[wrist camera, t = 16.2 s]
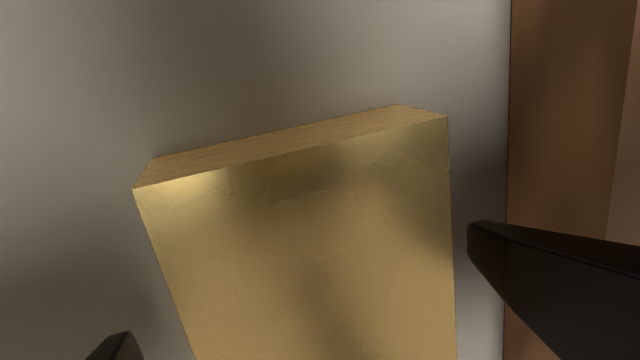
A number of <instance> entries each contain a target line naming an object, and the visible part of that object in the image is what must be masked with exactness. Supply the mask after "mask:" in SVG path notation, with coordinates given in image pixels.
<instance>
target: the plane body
mask: <svg viewBox="0 0 640 360" xmlns="http://www.w3.org/2000/svg"><path fill="white" fill-rule="evenodd" d="M507 224H513V225H519V226H524V227H530V228H536V229H542V230H548V231H554V232H560V233H566V234H571V235H577V236H583V237H589V238H595V239H601V240H607V241H613V242H618V243H624V244H630V245H636V246H640V0H512V28H511V70H510V112H509V153H508V195H507ZM504 360H560V359H559V358H558V357H557V356H556V355H555V354H554V353H553V352H552V351H551V350H550V349H549V348H548V347H547V346H546V345H545V344H544V342H543V341H542V340H541V339H540V338H539V337H538V336H537V335H536V334H535V333H534V332H533V331H532V330H531V329H530V328H529V327H528V326H527V325H526V324H525V323H524V322H523V321H522V320H521V319H520V318H519V317H518V316H517V315H516V314H515V313H514V312H513V311H512V310H511V309H510V308H509V307H508V305H507V304H506V303H505V320H504Z"/></svg>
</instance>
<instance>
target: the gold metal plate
mask: <svg viewBox="0 0 640 360" xmlns="http://www.w3.org/2000/svg"><path fill="white" fill-rule="evenodd" d="M131 191H132V194H133V196H134V199H135V202H136V204H137V207H138V210H139V212H140V215H141V217H142V220H143V223H144V225H145V228H146V231H147V233H148V236H149V238H150V241H151V244H152V246H153V249H154V252H155V254H156V257H157V260H158V262H159V265H160V267H161V270H162V273H163V275H164V278H165V281H166V283H167V286H168V288H169V291H170V294H171V296H172V299H173V302H174V304H175V307H176V309H177V312H178V315H179V317H180V320H181V323H182V325H183V328H184V330H185V333H186V336H187V338H188V341H189V344H190V346H191V349H192V351H193V354H194V357H195V359H196V360H457V347H456V321H455V296H454V271H453V246H452V220H451V195H450V170H449V145H448V119H447V116H446V115H442V114H438V113H434V112H429V111H425V110H421V109H417V108H413V107H408V106H404V105H400V104H396V105H392V106H387V107H383V108H378V109H374V110H369V111H365V112H360V113H356V114H351V115H347V116H342V117H338V118H333V119H329V120H324V121H320V122H315V123H311V124H306V125H301V126H297V127H292V128H288V129H283V130H279V131H274V132H270V133H265V134H261V135H256V136H252V137H247V138H243V139H238V140H234V141H229V142H225V143H220V144H216V145H211V146H206V147H202V148H197V149H193V150H188V151H184V152H179V153H175V154H170V155H166V156H161V157H157V158H152V160H151V161H150V162H149V164H148V165H147V167H146V168H145V170H144V171H143V173H142V174H141V176H140V177H139V178H138V180H137V181H136V183H135V184H134V186H133V187H132V189H131Z"/></svg>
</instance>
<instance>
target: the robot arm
mask: <svg viewBox="0 0 640 360" xmlns="http://www.w3.org/2000/svg"><path fill="white" fill-rule="evenodd" d="M467 253H468V256H469V258H470V260H471V261H472V263H473V264H474V265H475V266H476V268H477V269H478V270H479V271H480V273H481V274H482V275H483V276H484V277H485V279H486V280H487V281H488V282H489V284H490V285H491V286H492V287H493V289H494V290H495V291H496V292H497V294H498V295H499V296H500V297H501V298H502V300H503V301H504V302H505V303H506V304H507V305H508V307H509V308H510V309H511V310H512V311H513V312H514V313H515V314H516V315H517V316H518V317H519V318H520V319H521V320H522V321H523V322H524V323H525V324H526V325H527V326H528V327H529V328H530V329H531V330H532V331H533V332H534V333H535V334H536V335H537V336H538V337H539V338H540V339H541V340H542V341H543V342H544V344H545V345H546V346H547V347H548V348H549V349H550V350H551V351H552V352H553V353H554V354H555V355H556V356H557V357H558V358H559V359H560V360H640V246H636V245H630V244H624V243H618V242H613V241H607V240H601V239H595V238H589V237H583V236H577V235H571V234H566V233H560V232H554V231H548V230H542V229H536V228H530V227H524V226H519V225H513V224H507V223H501V222H495V221H489V220H479V221H476V222H473V223H470V224H469V225H468V226H467ZM85 360H144V357H143V355H142V353H141V351H140V348H139V346H138V344H137V342H136V340H135V337H134V335H133V334H132V333H131V332H130V331H123V332H120V333H117V334H114V335H110V336H109V337H107V338H106V339H105V340H104V341H103V342H102V343H101V344H100V345H99V346H98V347H97V348H96V349H95V350H94V351H93V352H92V353H91V354H90V355H89V356H88V357H87V358H86V359H85Z"/></svg>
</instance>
